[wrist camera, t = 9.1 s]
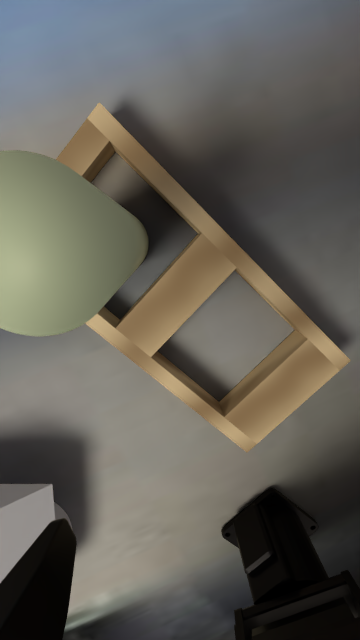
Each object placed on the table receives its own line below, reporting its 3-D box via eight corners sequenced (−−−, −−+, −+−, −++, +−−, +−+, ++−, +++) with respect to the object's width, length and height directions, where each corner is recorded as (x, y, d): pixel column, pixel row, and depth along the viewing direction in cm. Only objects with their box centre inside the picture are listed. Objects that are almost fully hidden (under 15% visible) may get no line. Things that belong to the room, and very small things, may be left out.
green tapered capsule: (155, 264, 19) (140, 312, 7) (98, 279, 19) (-19, 354, 7) (139, 203, 18) (85, 127, 6) (78, 219, 18) (-103, 178, 6)
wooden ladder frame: (334, 349, 22) (350, 360, 20) (240, 434, 23) (247, 452, 22) (106, 117, 17) (99, 102, 15) (7, 246, 19) (-11, 247, 17)
